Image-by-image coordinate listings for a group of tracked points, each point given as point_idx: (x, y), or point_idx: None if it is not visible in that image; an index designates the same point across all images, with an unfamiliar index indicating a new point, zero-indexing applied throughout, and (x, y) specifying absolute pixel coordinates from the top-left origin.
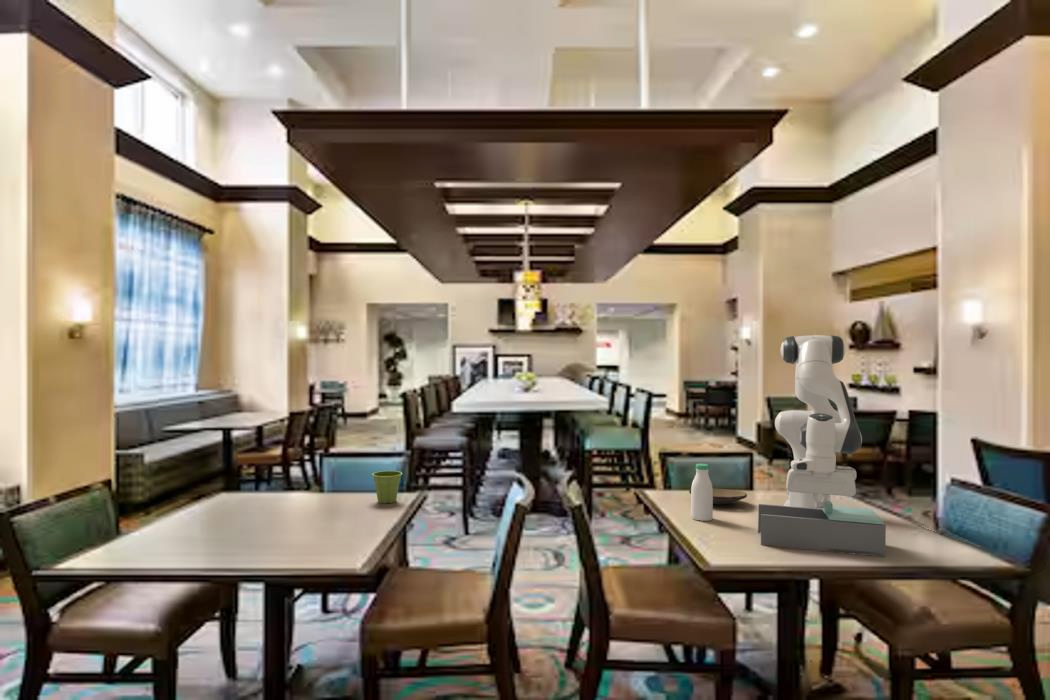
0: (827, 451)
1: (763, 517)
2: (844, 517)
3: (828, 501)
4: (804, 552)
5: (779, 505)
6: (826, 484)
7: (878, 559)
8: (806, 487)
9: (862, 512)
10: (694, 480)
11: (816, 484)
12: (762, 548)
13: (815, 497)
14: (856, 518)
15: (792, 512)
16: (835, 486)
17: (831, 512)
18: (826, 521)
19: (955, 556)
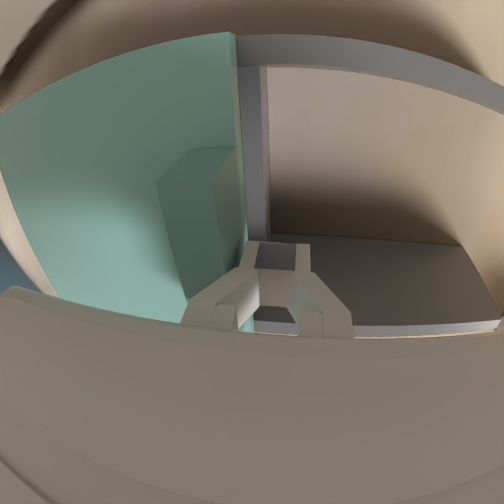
0: None
1: None
2: (113, 67)
3: (198, 288)
4: (369, 15)
5: (435, 334)
6: (147, 451)
7: (102, 47)
8: (453, 395)
9: (66, 254)
10: None
11: (318, 466)
12: (499, 59)
13: (323, 306)
14: (57, 89)
15: (388, 305)
16: (56, 390)
17: (196, 150)
18: (257, 35)
19: (4, 189)
